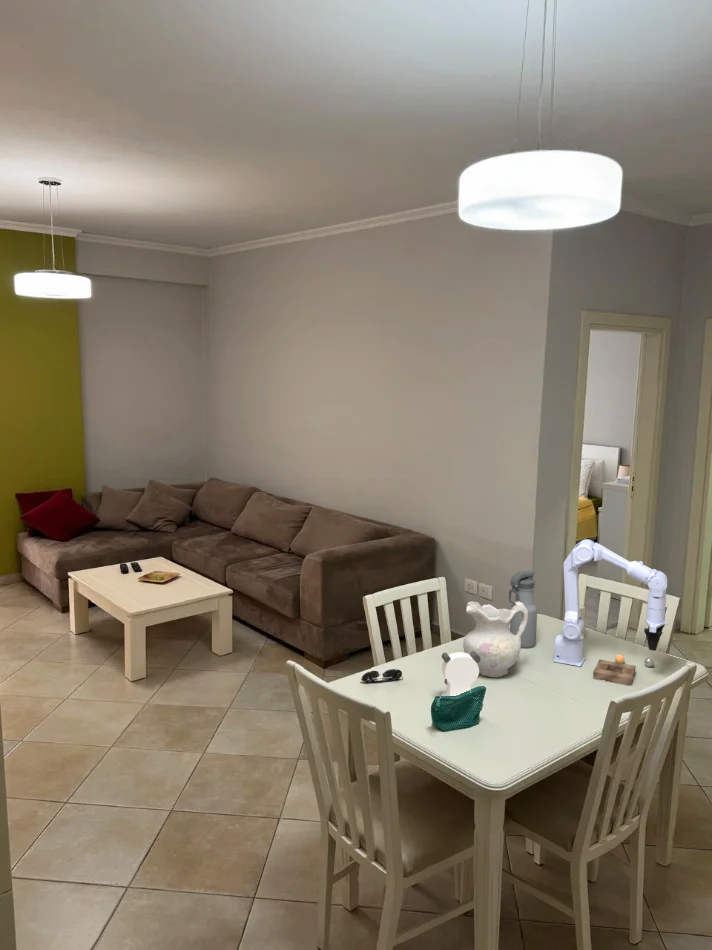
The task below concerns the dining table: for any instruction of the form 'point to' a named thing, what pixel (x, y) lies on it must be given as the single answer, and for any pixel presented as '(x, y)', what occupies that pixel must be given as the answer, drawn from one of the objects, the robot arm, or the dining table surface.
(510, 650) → the ceramic pitcher
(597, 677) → the hole plate
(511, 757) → the dining table surface
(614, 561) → the robot arm
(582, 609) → the skincare box
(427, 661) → the dining table surface
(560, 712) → the dining table surface
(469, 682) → the panda figurine
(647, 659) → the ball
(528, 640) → the water bottle
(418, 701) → the dining table surface
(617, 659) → the ball
